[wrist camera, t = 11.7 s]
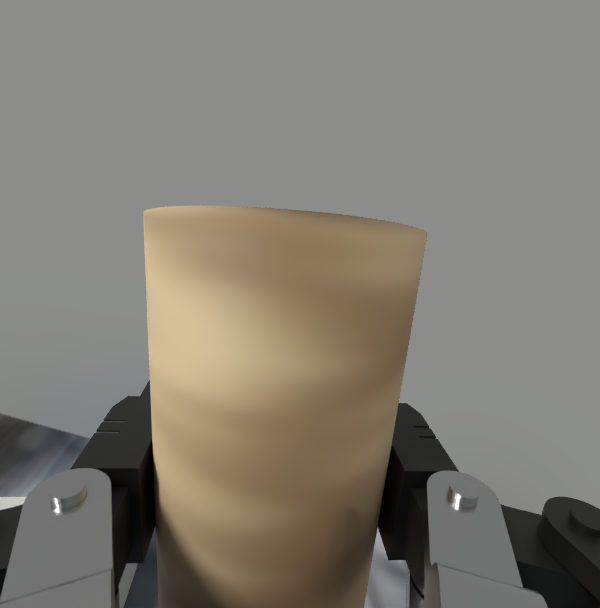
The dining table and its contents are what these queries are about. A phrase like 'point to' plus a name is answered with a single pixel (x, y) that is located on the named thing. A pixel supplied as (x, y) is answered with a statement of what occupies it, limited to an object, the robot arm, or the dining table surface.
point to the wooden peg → (273, 399)
